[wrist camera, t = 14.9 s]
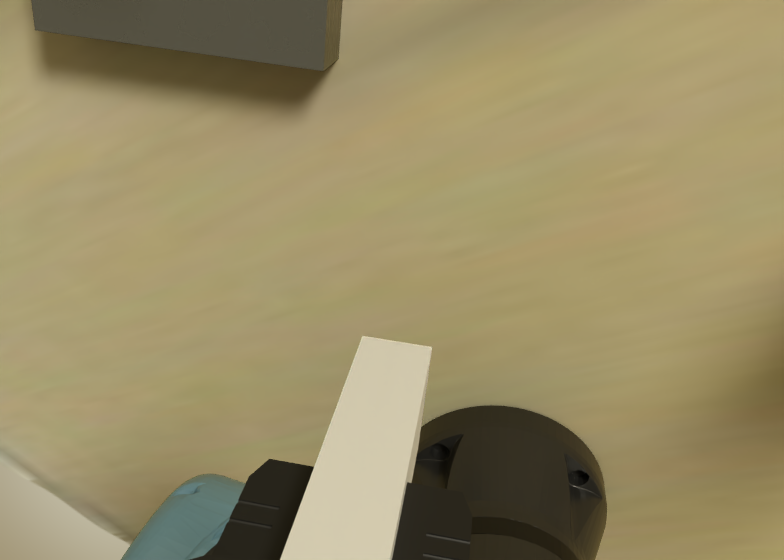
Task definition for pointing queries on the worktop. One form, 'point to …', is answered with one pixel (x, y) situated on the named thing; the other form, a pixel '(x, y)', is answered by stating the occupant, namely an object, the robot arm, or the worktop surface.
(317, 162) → the worktop surface
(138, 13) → the socket
